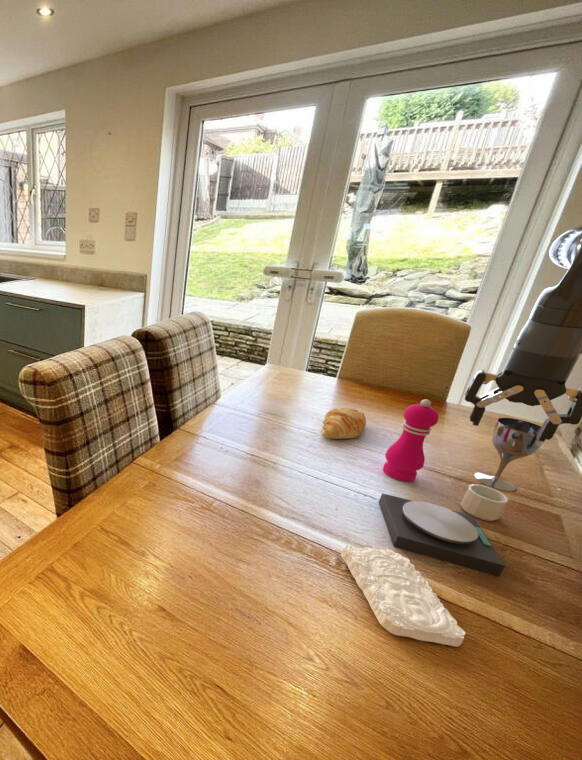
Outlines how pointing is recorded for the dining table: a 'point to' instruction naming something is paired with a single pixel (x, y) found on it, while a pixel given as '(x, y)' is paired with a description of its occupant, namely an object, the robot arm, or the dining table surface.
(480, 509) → the white short hollow cylinder
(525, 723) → the dining table surface
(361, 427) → the croissant
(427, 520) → the scale pan
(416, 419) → the pepper mill
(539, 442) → the wine glass
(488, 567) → the scale
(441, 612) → the carved plaster tablet
